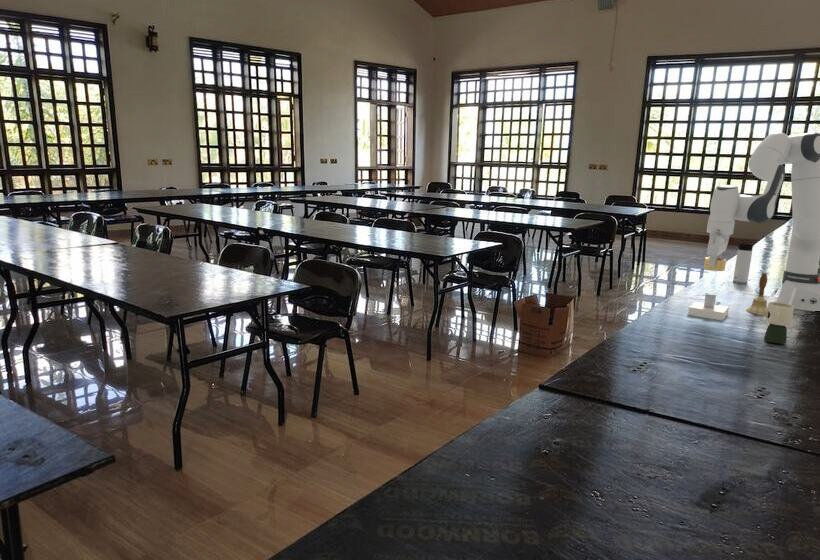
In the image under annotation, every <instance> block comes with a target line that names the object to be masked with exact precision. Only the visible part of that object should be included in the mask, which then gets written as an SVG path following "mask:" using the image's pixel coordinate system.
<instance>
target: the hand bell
mask: <svg viewBox="0 0 820 560" xmlns="http://www.w3.org/2000/svg"><path fill="white" fill-rule="evenodd" d="M767 284H768V275H767V273H766V272H762V274H761V276H760V278H759V282H758V285H759V290H758V291H759V292H758V296H757V297H755V298H753V300H752V303H751V305H750V306H749V307H747V308H746V309H745V310H746V312H747V313H750V314H754V315H759V316H766V314H767V309H768V302H767V299H766V298H765V297H764V295H765V294H764V293H765V288H766V286H767Z"/></svg>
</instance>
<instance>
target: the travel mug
mask: <svg viewBox="0 0 820 560" xmlns="http://www.w3.org/2000/svg"><path fill="white" fill-rule="evenodd" d="M753 248H754V244H750V243H744V244H743V243H738V247H737V252H736V258H735V259H736V260H735V264H734V271H733V278H732V282H733V284H737V283H738V285H747V284H748V280H749V274H750V268H751V262H752V255H753Z"/></svg>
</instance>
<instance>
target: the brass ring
mask: <svg viewBox="0 0 820 560" xmlns="http://www.w3.org/2000/svg"><path fill="white" fill-rule="evenodd" d="M726 264H727V259H725V258H722V257H721V258H716V266H715V267H711V266H710V256H705V257H704V262H703V269H704V270H708V271H715V272H725V270H726Z"/></svg>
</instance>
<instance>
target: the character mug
mask: <svg viewBox="0 0 820 560" xmlns="http://www.w3.org/2000/svg"><path fill="white" fill-rule="evenodd" d="M794 311H795V309H794V306H793V305H790V304H786V303H780V302H775V301H769V302H767V314H766V315H765V322H766V323H769V324H768V325H767V328H766V331H765V334H764V337H763V340H764V341H765V342H768V343H772V344H773V345H775V344H783V345H784V344H786V343H787V339H788V338H787V337H788V336H787V331H788V329H787V326H788V327H789V326H791V325H792V321H793V315H794Z"/></svg>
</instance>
